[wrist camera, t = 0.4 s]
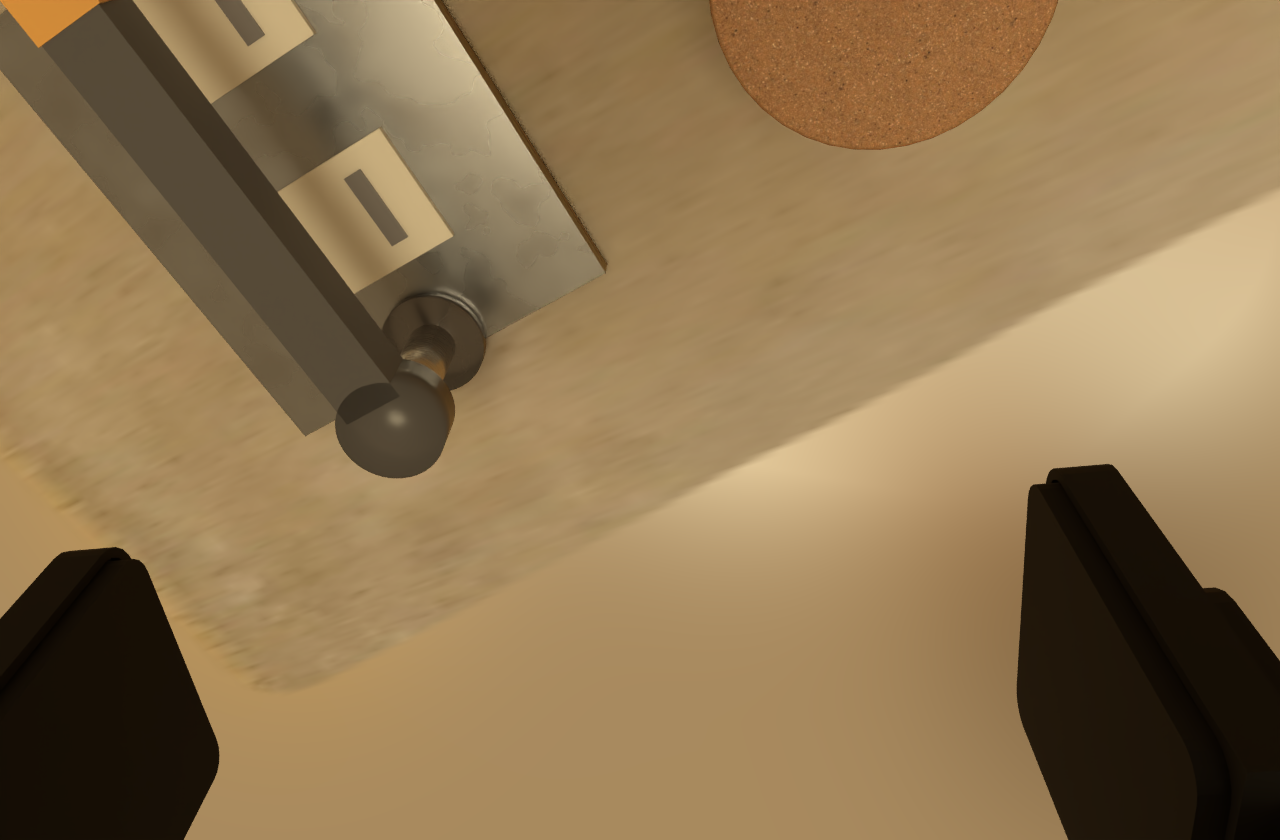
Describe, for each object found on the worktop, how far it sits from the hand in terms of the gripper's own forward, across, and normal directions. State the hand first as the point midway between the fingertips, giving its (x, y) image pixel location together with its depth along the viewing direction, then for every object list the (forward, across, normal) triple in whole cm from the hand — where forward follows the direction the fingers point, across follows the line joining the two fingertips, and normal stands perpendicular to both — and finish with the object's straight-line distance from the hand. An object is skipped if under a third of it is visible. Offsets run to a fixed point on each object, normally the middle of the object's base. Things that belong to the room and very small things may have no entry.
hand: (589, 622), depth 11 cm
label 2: (+33, +13, +4) cm, 35 cm away
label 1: (+32, +17, -4) cm, 37 cm away
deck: (+34, +14, +2) cm, 36 cm away
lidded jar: (+34, -8, -3) cm, 35 cm away
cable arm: (+27, +14, +3) cm, 30 cm away
